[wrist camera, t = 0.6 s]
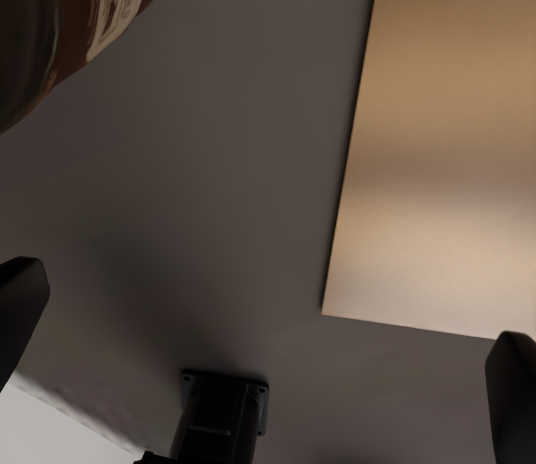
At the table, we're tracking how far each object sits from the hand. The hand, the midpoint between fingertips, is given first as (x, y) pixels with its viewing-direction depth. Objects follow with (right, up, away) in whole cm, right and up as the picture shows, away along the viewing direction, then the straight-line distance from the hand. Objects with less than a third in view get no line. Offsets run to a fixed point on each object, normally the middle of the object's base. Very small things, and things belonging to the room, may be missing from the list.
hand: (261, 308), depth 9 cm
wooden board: (+14, +3, +13) cm, 19 cm away
